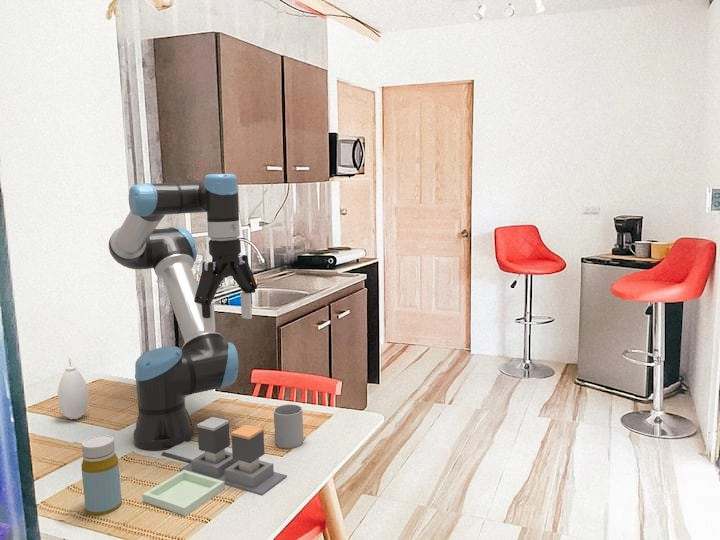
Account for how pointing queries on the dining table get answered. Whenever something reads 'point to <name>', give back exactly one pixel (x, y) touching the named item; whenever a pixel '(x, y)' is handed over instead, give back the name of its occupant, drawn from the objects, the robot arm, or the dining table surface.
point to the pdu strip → (226, 460)
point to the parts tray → (183, 492)
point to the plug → (248, 447)
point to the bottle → (100, 475)
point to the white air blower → (73, 393)
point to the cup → (288, 426)
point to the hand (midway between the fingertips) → (229, 324)
